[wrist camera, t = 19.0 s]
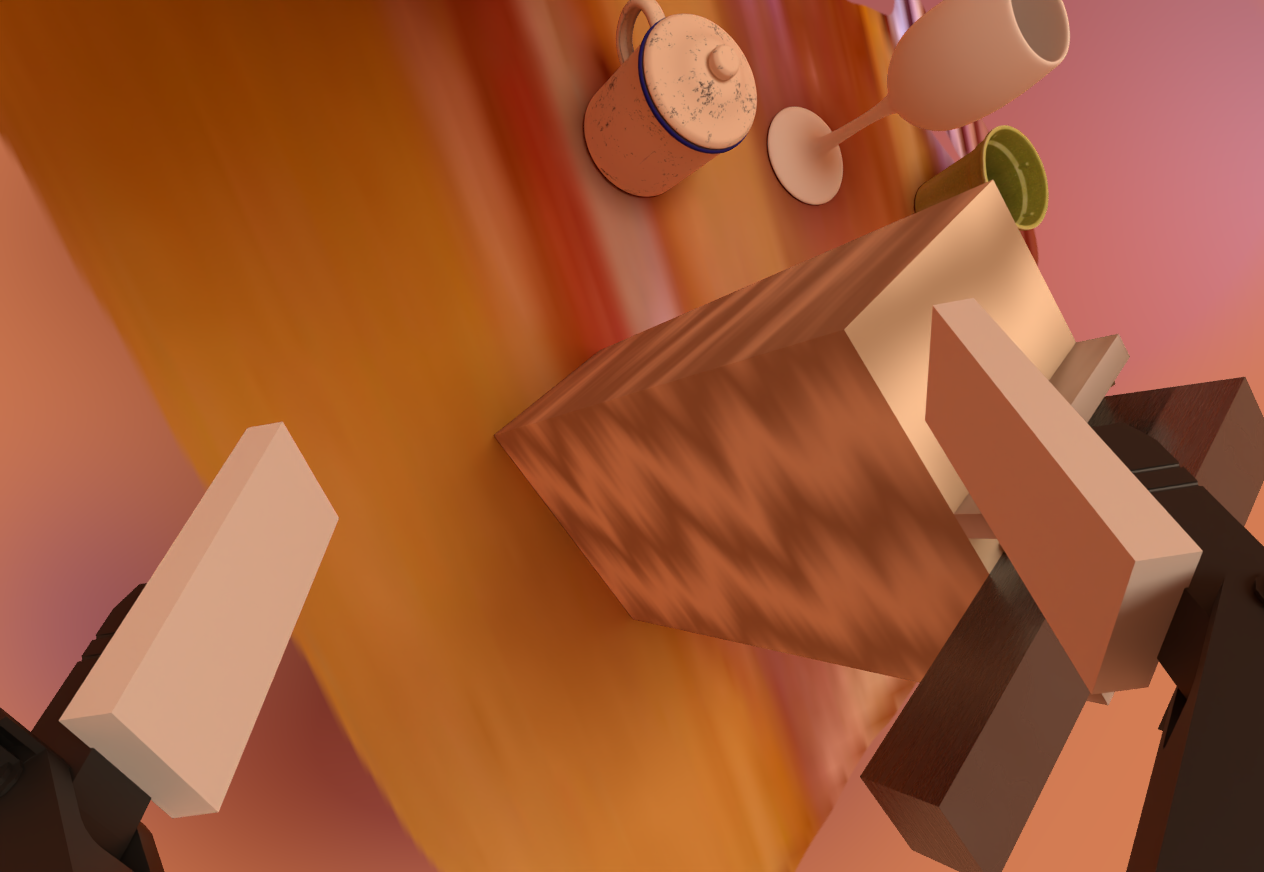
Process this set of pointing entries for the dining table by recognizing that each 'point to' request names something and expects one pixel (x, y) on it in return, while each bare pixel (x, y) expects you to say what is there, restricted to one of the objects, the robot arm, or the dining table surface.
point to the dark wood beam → (1034, 658)
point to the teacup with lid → (669, 101)
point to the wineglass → (931, 83)
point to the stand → (802, 446)
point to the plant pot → (996, 176)
